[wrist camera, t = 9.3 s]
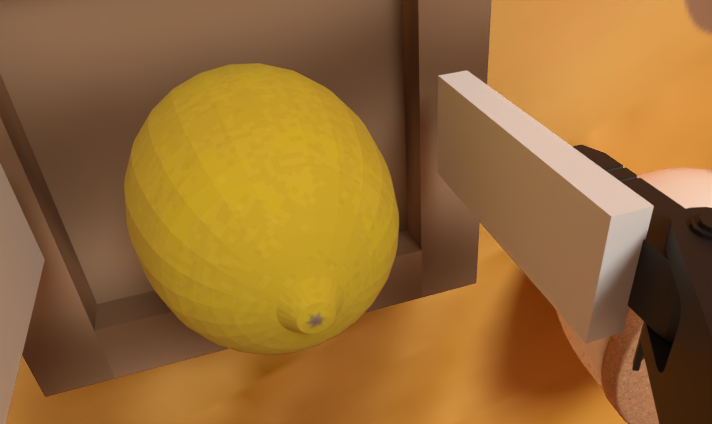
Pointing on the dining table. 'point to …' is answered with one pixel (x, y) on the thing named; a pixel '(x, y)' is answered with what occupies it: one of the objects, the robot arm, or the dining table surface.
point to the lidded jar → (616, 352)
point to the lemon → (260, 209)
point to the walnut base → (148, 87)
